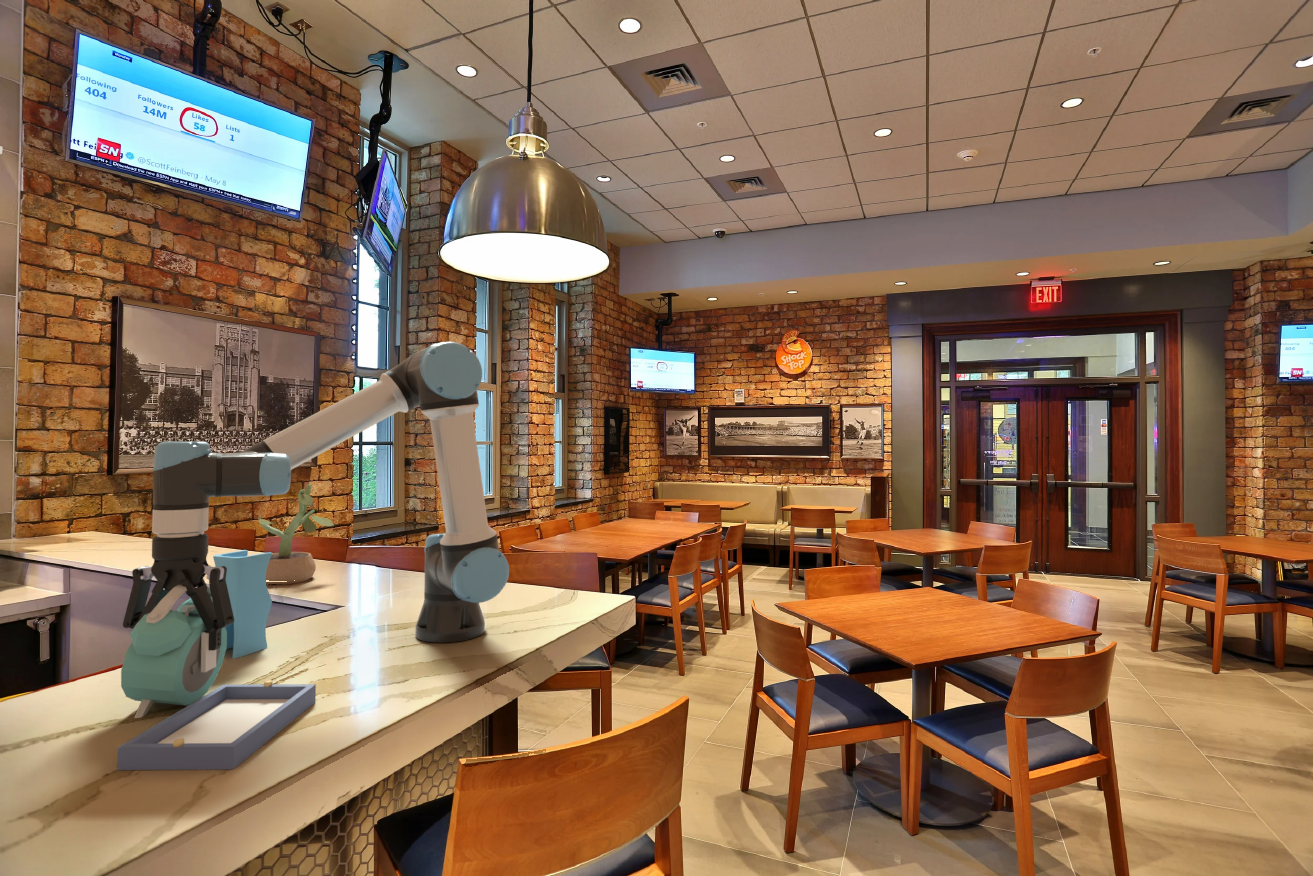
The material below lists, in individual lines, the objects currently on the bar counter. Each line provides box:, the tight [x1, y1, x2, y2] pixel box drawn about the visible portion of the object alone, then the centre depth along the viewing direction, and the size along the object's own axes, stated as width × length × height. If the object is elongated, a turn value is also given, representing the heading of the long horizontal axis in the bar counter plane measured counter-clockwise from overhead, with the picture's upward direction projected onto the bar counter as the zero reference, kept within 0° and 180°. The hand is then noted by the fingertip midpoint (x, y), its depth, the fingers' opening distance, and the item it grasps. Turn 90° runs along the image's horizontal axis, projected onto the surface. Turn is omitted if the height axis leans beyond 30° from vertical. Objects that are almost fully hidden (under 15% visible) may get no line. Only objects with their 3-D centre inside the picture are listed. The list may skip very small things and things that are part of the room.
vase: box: [212, 549, 273, 659], centre depth 133 cm, size 8×8×20 cm
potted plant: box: [257, 484, 336, 585], centre depth 199 cm, size 22×18×30 cm
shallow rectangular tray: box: [116, 680, 317, 771], centre depth 95 cm, size 15×22×4 cm
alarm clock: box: [120, 583, 227, 719], centre depth 106 cm, size 17×10×20 cm, turn 5°
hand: (178, 669), depth 106 cm, fingers closed on alarm clock, 9 cm apart
